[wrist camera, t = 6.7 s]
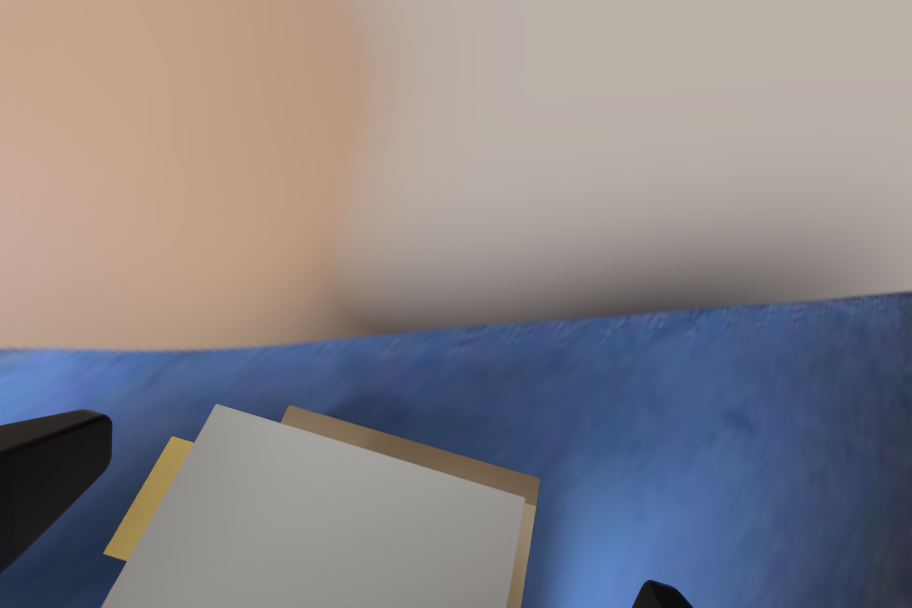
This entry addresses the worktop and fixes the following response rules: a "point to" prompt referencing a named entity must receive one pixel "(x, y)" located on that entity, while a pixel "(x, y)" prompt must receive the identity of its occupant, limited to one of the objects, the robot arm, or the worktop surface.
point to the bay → (439, 462)
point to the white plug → (317, 528)
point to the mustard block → (148, 499)
